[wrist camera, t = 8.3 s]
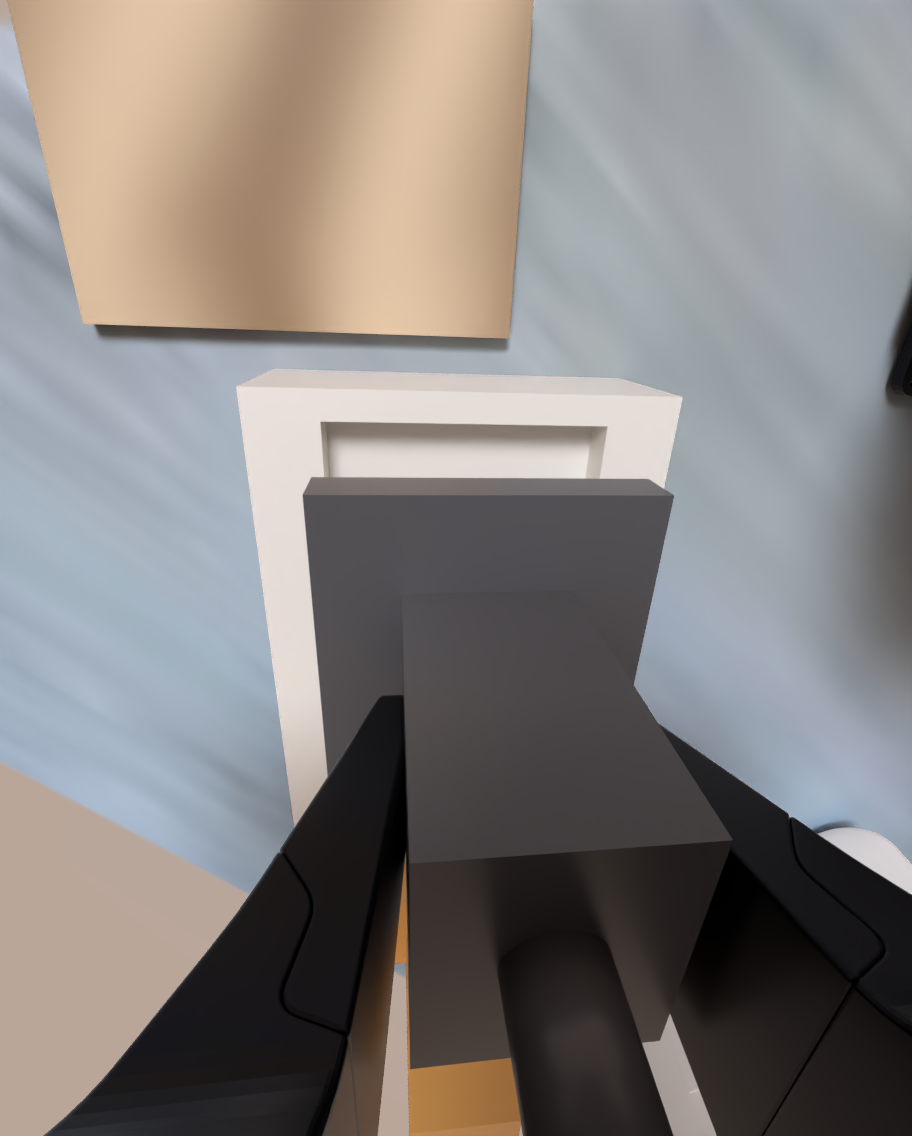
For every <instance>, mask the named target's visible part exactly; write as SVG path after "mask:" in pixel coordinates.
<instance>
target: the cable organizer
mask: <svg viewBox="0 0 912 1136" xmlns="http://www.w3.org/2000/svg"><path fill="white" fill-rule="evenodd" d="M817 834H818V835H820V836H821V837H823V838H824V839H826V840H827V841H829V842H830V843H832V844H833V845H835V846H836V847H838V848H839V849H841V850H842V851H844V852H845V853H847V854H848V855H850V856H851V857H853V858H854V859H856V860H857V861H859V862H860V863H862V864H864V865H865V866H867V867H868V868H870V869H872V870H873V871H875V872H876V873H878V874H880V875H881V876H883V877H884V878H886V879H887V880H889V881H891V882H892V883H894V884H895V885H897V886H899V887H900V888H902V889H903V890H905V891H907V892H908V893H910V894H912V863H911V862H910V861H909V860H908V859H907V858H906V857H905V856H904V855H903V854H902V853H901V852H900V851H899V850H898V848H897V847H896V846H895V845H894V844H893V843H891V842H890V841H889V840H888V839H886V838H885V837H883V836H882V835H880V834H877V833H875V832H873V831H869V830H866V829H861V828H850V827H846V828H836V829H831V830H827V831H824V832H821V833H817ZM642 1044H643V1047H644V1050H645V1053H646V1056H647V1059H648V1062H649V1065H650V1068H651V1071H652V1074H653V1077H654V1080H655V1083H656V1086H657V1088H658V1091H659V1094H660V1097H661V1100H662V1103H663V1106H664V1109H665V1112H666V1115H667V1118H668V1121H669V1124H670V1127H671V1130H672V1133H673V1135H674V1136H717V1135H716V1133H715V1130H714V1127H713V1125H712V1122H711V1120H710V1117H709V1114H708V1112H707V1109H706V1107H705V1104H704V1101H703V1099H702V1096H701V1093H700V1091H699V1088H698V1086H697V1083H696V1080H695V1078H694V1075H693V1072H692V1070H691V1067H690V1065H689V1062H688V1059H687V1057H686V1054H685V1052H684V1049H683V1046H682V1044H681V1041H680V1038H679V1036H678V1033H677V1031H676V1028H675V1025H674V1023H673V1020H672V1018H671V1015H670V1014H669V1017H668V1020H667V1023H666V1025H665V1028H664V1031H663V1034H662V1036H661V1039H660V1041H654V1042H645V1043H642Z"/></svg>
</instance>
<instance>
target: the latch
mask: <svg viewBox="0 0 912 1136" xmlns="http://www.w3.org/2000/svg"><path fill="white" fill-rule="evenodd" d="M405 962H406V985H407V987H406V988H407V1040H408V1041H407V1042H408V1095H409V1098H408V1099H409V1136H519V1131H520V1126H521V1120H520V1114H519V1107H518V1101H517V1094H516V1088H515V1082H514V1075H513V1069H512V1063H511V1058H505V1059H496V1060H488V1061H479V1062H470V1063H461V1064H453V1065H444V1066H435V1067H426V1068H417V1069H410V1040H409V994H408V949H407V904H406V859H405V864H404V874H403V884H402V894H401V904H400V914H399V924H398V934H397V945H396V955H395V963H405Z"/></svg>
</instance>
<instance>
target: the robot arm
mask: <svg viewBox="0 0 912 1136" xmlns="http://www.w3.org/2000/svg"><path fill="white" fill-rule="evenodd" d="M911 378H912V325H911V328H910V331H909V334H908V336H907V339H906V342H905V345H904V347H903V350H902V353H901V356H900V359H899V361H898V364H897V367H896V370H895V372H894V375H893V378H892V384H891V385H892V389H893V391H894V392H895V393H896V394H900V395H905V396H911V397H912V383H911V384H910V380H911ZM659 726H660V727H661V729H662V730H663V732H664V734H665V735H666V737H667V738H668V740H669V741H670V743H671V744H672V746H673V748H674V749H675V751H676V752H677V754H678V755H679V757H680V758H681V760H682V762H683V763H684V765H685V766H686V768H687V769H688V771H689V772H690V774H691V776H692V777H693V779H694V780H695V782H696V783H697V785H698V786H699V788H700V790H701V791H702V793H703V794H704V796H705V797H706V799H707V800H708V802H709V803H710V805H711V807H712V808H713V810H714V811H715V813H716V814H717V816H718V817H719V819H720V821H721V822H722V824H723V825H724V827H725V828H726V830H727V831H728V833H729V835H730V836H731V838H732V839H733V842H732V845H731V848H730V850H729V853H728V856H727V859H726V861H725V864H724V867H723V869H722V872H721V875H720V878H719V880H718V883H717V886H716V889H715V891H714V894H713V897H712V900H711V902H710V905H709V908H708V911H707V913H706V916H705V919H704V921H703V924H702V927H701V930H700V932H699V935H698V938H697V941H696V943H695V946H694V949H693V952H692V954H691V957H690V960H689V963H688V965H687V968H686V971H685V973H684V976H683V979H682V982H681V984H680V987H679V990H678V993H677V995H676V998H675V1001H674V1004H673V1006H672V1009H671V1012H670V1015H671V1018H672V1020H673V1023H674V1025H675V1028H676V1031H677V1033H678V1036H679V1038H680V1041H681V1044H682V1046H683V1049H684V1052H685V1054H686V1057H687V1059H688V1062H689V1065H690V1067H691V1070H692V1072H693V1075H694V1078H695V1080H696V1083H697V1086H698V1088H699V1091H700V1093H701V1096H702V1099H703V1101H704V1104H705V1107H706V1109H707V1112H708V1114H709V1117H710V1120H711V1122H712V1125H713V1127H714V1130H715V1133H716V1135H717V1136H912V894H910V893H908V892H907V891H905V890H903V889H902V888H900V887H899V886H897V885H895V884H894V883H892V882H891V881H889V880H887V879H886V878H884V877H883V876H881V875H880V874H878V873H876V872H875V871H873V870H872V869H870V868H868V867H867V866H865V865H864V864H862V863H860V862H859V861H857V860H856V859H854V858H853V857H851V856H850V855H848V854H847V853H845V852H844V851H842V850H841V849H839V848H838V847H836V846H835V845H833V844H832V843H830V842H829V841H827V840H826V839H824V838H823V837H821V836H820V835H818V834H817V833H816V832H814V831H813V830H811V829H810V828H808V827H807V826H805V825H804V824H803V823H801V822H800V821H798V820H797V819H795V818H793V817H791V818H789V815H788V813H786V812H785V811H784V810H782V809H781V808H779V807H778V806H776V805H775V804H773V803H772V802H771V801H769V800H768V799H766V798H765V797H763V796H762V795H760V794H759V793H758V792H756V791H755V790H753V789H752V788H750V787H749V786H748V785H746V784H745V783H743V782H742V781H740V780H739V779H737V778H736V777H735V776H733V775H732V774H730V773H729V772H727V771H726V770H724V769H723V768H722V767H720V766H719V765H717V764H716V763H714V762H713V761H711V760H710V759H709V758H707V757H706V756H704V755H703V754H701V753H700V752H698V751H697V750H696V749H694V748H693V747H691V746H690V745H688V744H687V743H686V742H684V741H683V740H681V739H680V738H678V737H677V736H675V735H674V734H673V733H671V732H670V731H668V730H667V729H665V728H664V727H662V726H661V725H660V724H659ZM405 854H406V810H405V734H404V702H403V695H384V696H381V697H379V699H378V700H377V701H376V703H375V704H374V706H373V707H372V709H371V711H370V712H369V714H368V715H367V717H366V718H365V720H364V721H363V723H362V724H361V726H360V727H359V729H358V731H357V732H356V734H355V735H354V737H353V738H352V740H351V741H350V743H349V744H348V746H347V747H346V749H345V751H344V752H343V754H342V755H341V757H340V758H339V760H338V761H337V763H336V764H335V766H334V767H333V769H332V771H331V772H330V774H329V775H328V777H327V778H326V780H325V781H324V783H323V784H322V786H321V787H320V789H319V790H318V792H317V794H316V795H315V797H314V798H313V800H312V801H311V803H310V804H309V806H308V807H307V809H306V810H305V812H304V814H303V815H302V817H301V818H300V820H299V821H298V823H297V824H296V826H295V827H294V829H293V830H292V832H291V834H290V835H289V837H288V838H287V840H286V841H285V843H284V844H283V846H282V847H281V853H278V854H277V855H276V856H275V858H274V859H273V861H272V862H271V864H270V865H269V867H268V868H267V870H266V872H265V873H264V875H263V876H262V878H261V879H260V881H259V882H258V883H257V885H256V886H255V888H254V889H253V891H252V892H251V894H250V895H249V896H248V898H247V899H246V901H245V902H244V904H243V905H242V907H241V908H240V910H239V911H238V912H237V914H236V915H235V916H234V917H233V919H232V920H231V921H230V923H229V924H228V925H227V927H226V928H225V929H224V930H223V932H222V933H221V934H220V936H219V937H218V938H217V939H216V941H215V942H214V943H213V944H212V946H211V947H210V948H209V950H208V951H207V952H206V954H205V955H204V956H203V957H202V958H201V960H200V961H199V962H198V963H197V965H196V966H195V967H194V968H193V970H192V971H191V972H190V973H189V974H188V976H187V977H186V978H185V979H184V981H183V982H182V983H181V984H180V986H179V987H178V988H177V989H176V990H175V992H174V993H173V994H172V995H171V997H170V998H169V999H168V1000H167V1002H166V1003H165V1004H164V1005H163V1007H162V1008H161V1009H160V1010H159V1012H158V1013H157V1014H156V1015H155V1016H154V1018H153V1019H152V1020H151V1021H150V1022H149V1024H148V1025H147V1026H146V1027H145V1029H144V1030H143V1031H142V1032H141V1034H140V1035H139V1036H138V1037H137V1039H136V1040H135V1041H134V1042H133V1044H132V1045H131V1046H130V1047H129V1048H128V1050H127V1051H126V1052H125V1053H124V1055H123V1056H122V1057H121V1059H119V1061H118V1062H117V1063H116V1064H115V1066H114V1067H113V1068H112V1069H111V1070H110V1071H109V1073H108V1074H107V1075H106V1076H105V1077H104V1078H103V1080H102V1081H101V1082H100V1083H99V1084H98V1085H97V1086H96V1087H95V1088H94V1089H93V1090H92V1091H91V1092H90V1093H89V1095H88V1096H87V1097H86V1098H85V1099H84V1100H83V1101H82V1102H81V1103H79V1104H78V1105H77V1106H76V1107H75V1108H74V1109H73V1110H72V1111H71V1112H70V1113H69V1114H68V1115H67V1116H66V1117H65V1118H64V1119H63V1120H61V1121H60V1122H59V1123H58V1124H57V1125H56V1126H54V1127H53V1128H52V1129H51V1130H50V1131H49V1132H48V1133H46V1134H45V1135H44V1136H377V1135H378V1125H379V1115H380V1105H381V1095H382V1085H383V1075H384V1064H385V1055H386V1044H387V1035H388V1025H389V1015H390V1005H391V994H392V984H393V975H394V965H395V955H396V945H397V934H398V924H399V914H400V904H401V894H402V884H403V874H404V864H405Z"/></svg>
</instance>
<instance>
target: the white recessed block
mask: <svg viewBox="0 0 912 1136" xmlns="http://www.w3.org/2000/svg"><path fill="white" fill-rule="evenodd" d="M236 389H237V396H238V404H239V411H240V419H241V427H242V434H243V442H244V450H245V457H246V465H247V472H248V480H249V488H250V495H251V503H252V510H253V518H254V526H255V533H256V541H257V549H258V556H259V564H260V571H261V579H262V587H263V594H264V602H265V609H266V617H267V625H268V632H269V640H270V647H271V655H272V663H273V670H274V678H275V686H276V693H277V701H278V708H279V716H280V724H281V731H282V739H283V746H284V754H285V762H286V769H287V777H288V785H289V792H290V800H291V807H292V815H293V823H294V827H295V826H296V824H297V823H298V821H299V820H300V818H301V817H302V815H303V814H304V812H305V810H306V809H307V807H308V806H309V804H310V803H311V801H312V800H313V798H314V797H315V795H316V794H317V792H318V790H319V789H320V787H321V786H322V784H323V783H324V781H325V780H326V778H327V777H328V774H327V763H326V752H325V741H324V730H323V719H322V707H321V696H320V685H319V674H318V663H317V652H316V640H315V629H314V618H313V607H312V596H311V585H310V573H309V562H308V551H307V540H306V529H305V518H304V506H303V493H304V491H305V489H306V487H307V485H308V483H309V481H310V479H311V477H386V478H584V479H649V480H651V481H652V482H654V483H656V484H657V485H659V486H660V487H662V488H663V489H664V486H665V481H666V476H667V471H668V467H669V462H670V457H671V452H672V447H673V442H674V437H675V433H676V428H677V423H678V418H679V413H680V408H681V403H682V399H683V397H681V396H678V395H674V394H671V393H667V392H664V391H661V390H657V389H654V388H650V387H647V386H644V385H640V384H637V383H633V382H630V381H627V380H623V379H620V378H596V377H560V376H523V375H486V374H449V373H413V372H376V371H339V370H303V369H272V370H270V371H268V372H266V373H264V374H262V375H260V376H257V377H255V378H253V379H251V380H249V381H247V382H245V383H243V384H241V385H238V386H236Z"/></svg>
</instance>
